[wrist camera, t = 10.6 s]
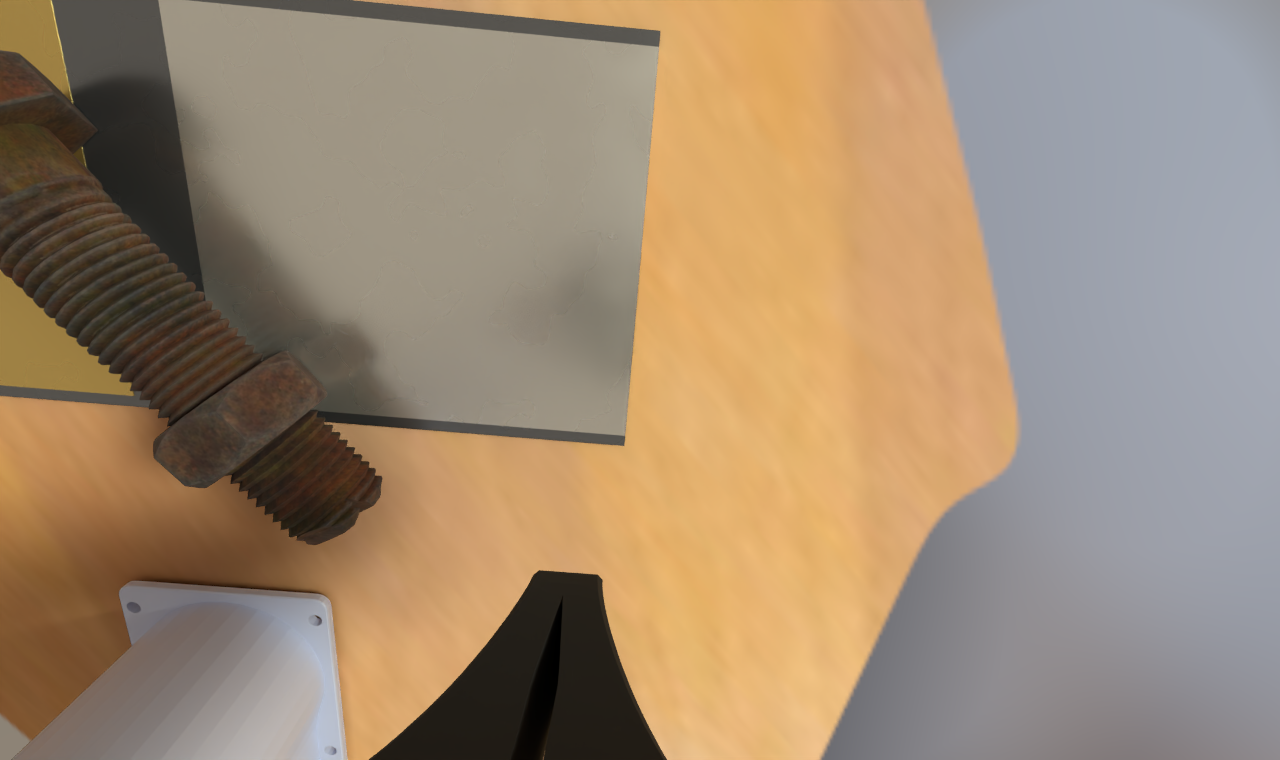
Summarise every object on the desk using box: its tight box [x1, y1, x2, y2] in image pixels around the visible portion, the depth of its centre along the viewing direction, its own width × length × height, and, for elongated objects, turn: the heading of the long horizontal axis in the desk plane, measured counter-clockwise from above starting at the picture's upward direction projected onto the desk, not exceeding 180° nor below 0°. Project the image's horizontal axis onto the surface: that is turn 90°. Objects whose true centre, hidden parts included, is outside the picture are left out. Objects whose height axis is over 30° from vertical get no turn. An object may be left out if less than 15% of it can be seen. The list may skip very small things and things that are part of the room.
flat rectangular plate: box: [0, 0, 660, 446], centre depth 19 cm, size 13×28×1 cm, turn 85°
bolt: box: [0, 50, 382, 545], centre depth 18 cm, size 6×5×15 cm
